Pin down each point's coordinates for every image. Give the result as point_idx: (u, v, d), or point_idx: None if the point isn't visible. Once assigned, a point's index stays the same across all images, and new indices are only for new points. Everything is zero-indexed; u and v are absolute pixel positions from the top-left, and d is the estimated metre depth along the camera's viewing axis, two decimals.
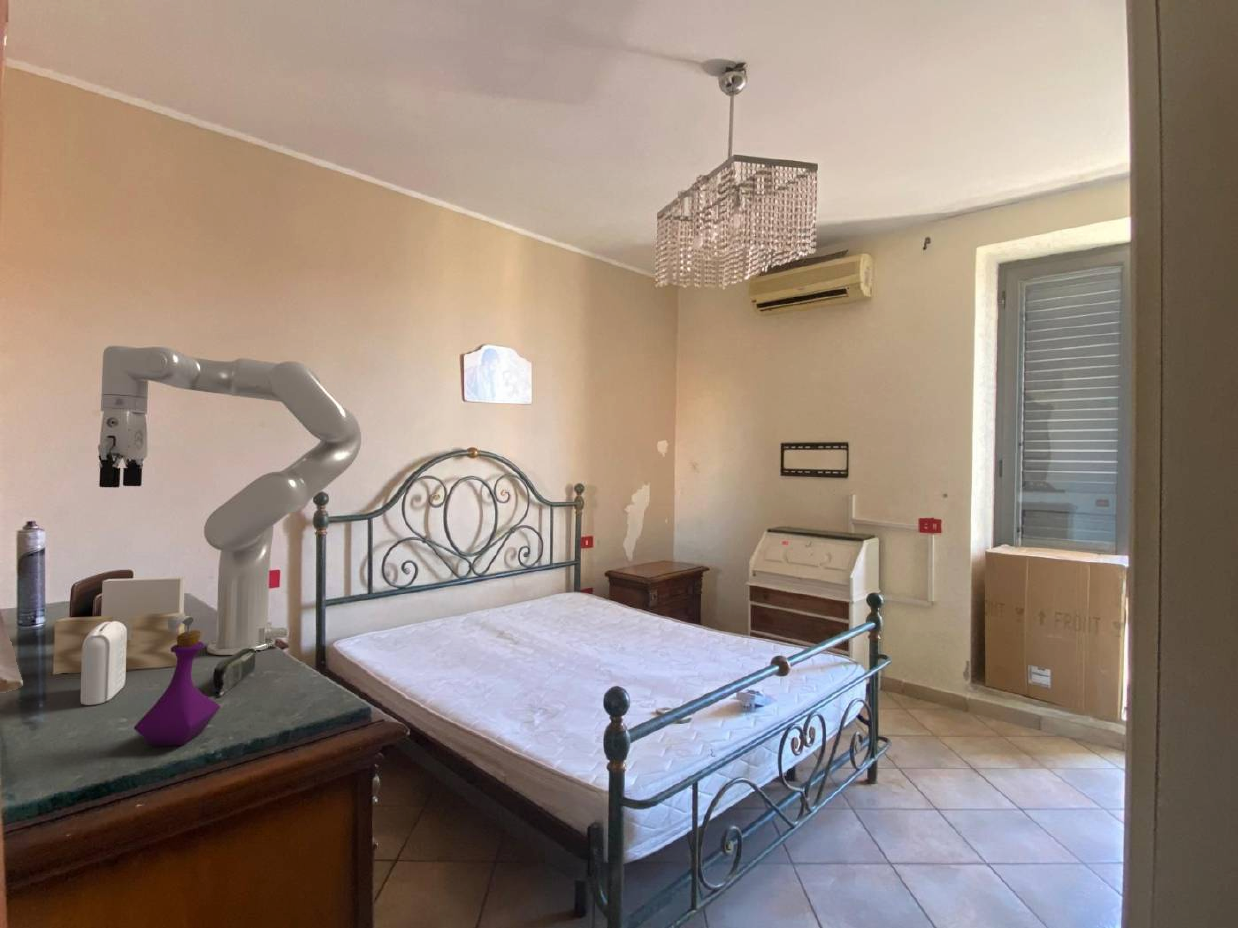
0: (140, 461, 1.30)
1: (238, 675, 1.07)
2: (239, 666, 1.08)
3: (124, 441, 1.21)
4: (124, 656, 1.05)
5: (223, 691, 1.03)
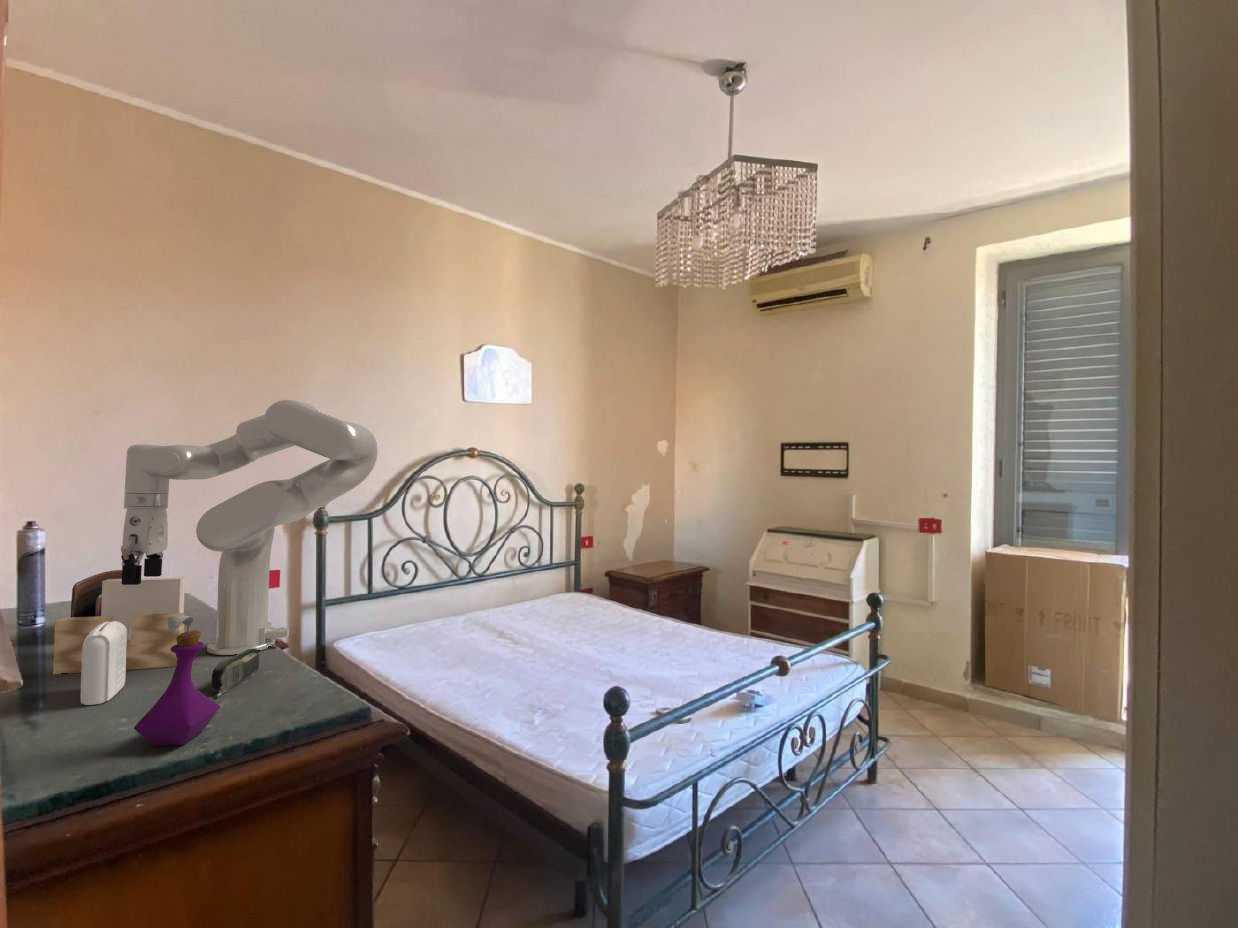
0: (160, 552, 1.34)
1: (238, 676, 1.07)
2: (239, 667, 1.07)
3: (146, 539, 1.25)
4: (124, 656, 1.05)
5: (221, 692, 1.03)
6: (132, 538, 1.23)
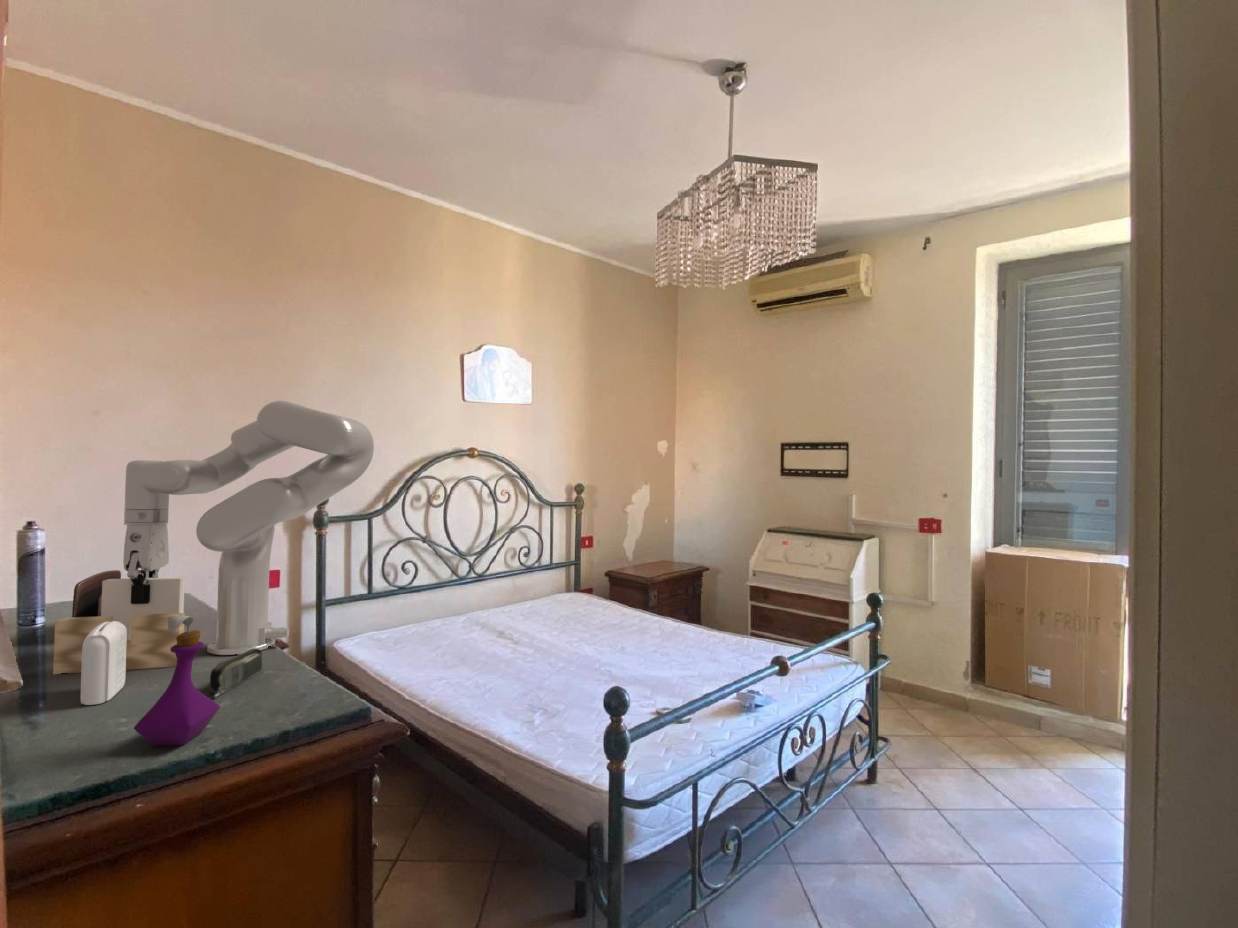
0: (155, 575, 1.30)
1: (238, 676, 1.07)
2: (239, 668, 1.07)
3: (147, 555, 1.25)
4: (124, 656, 1.05)
5: (219, 692, 1.02)
6: (135, 560, 1.24)
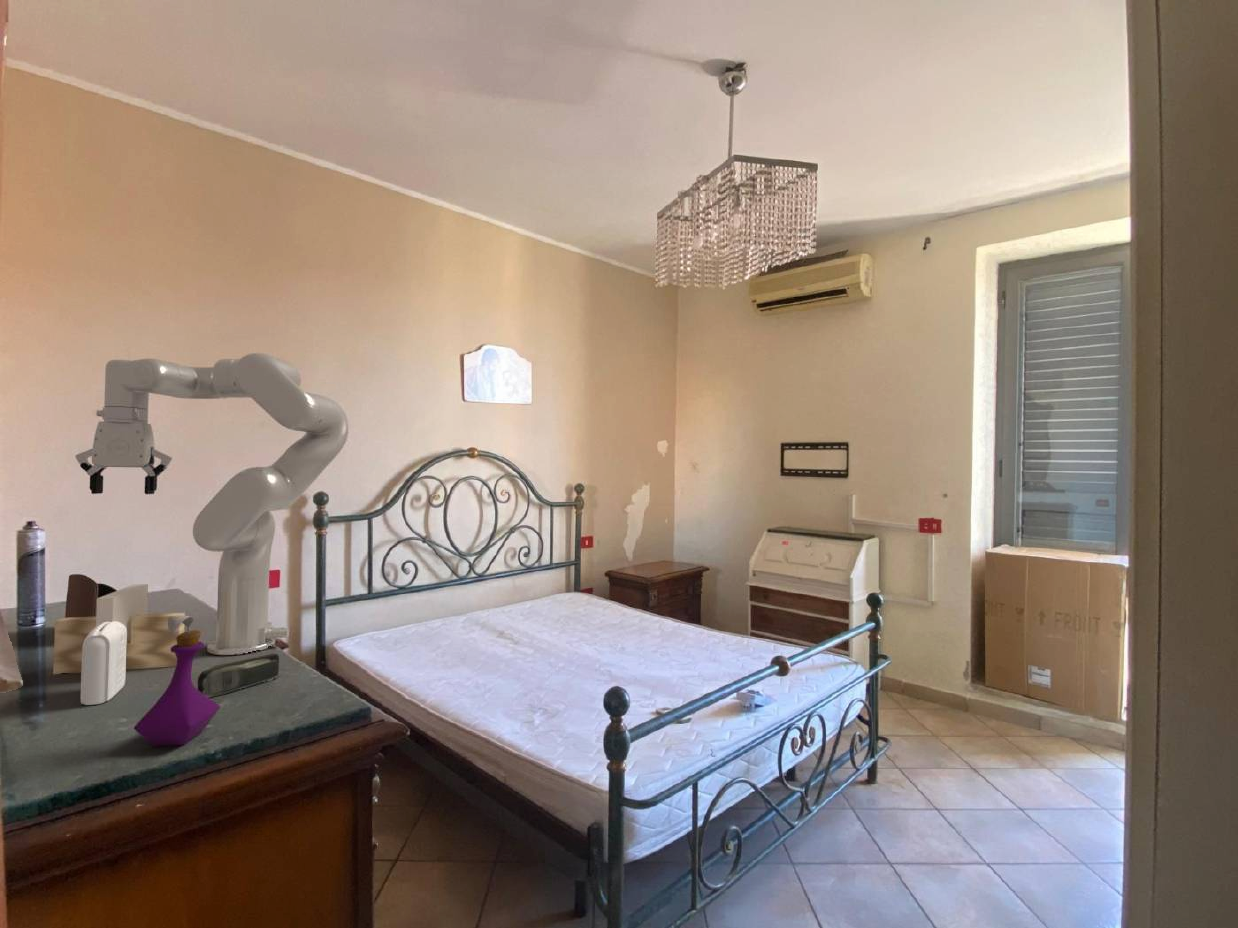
0: (147, 469, 1.31)
1: (231, 682, 1.04)
2: (233, 673, 1.04)
3: None
4: (124, 656, 1.05)
5: None
6: None
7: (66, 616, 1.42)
